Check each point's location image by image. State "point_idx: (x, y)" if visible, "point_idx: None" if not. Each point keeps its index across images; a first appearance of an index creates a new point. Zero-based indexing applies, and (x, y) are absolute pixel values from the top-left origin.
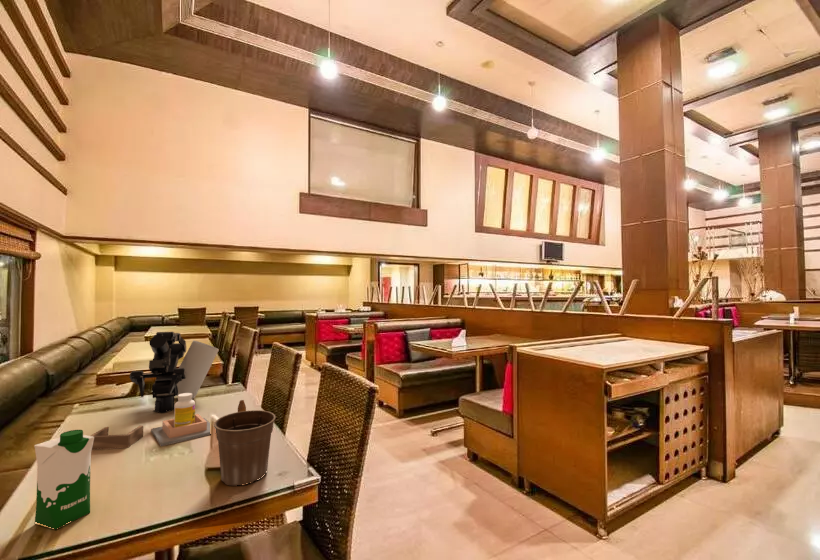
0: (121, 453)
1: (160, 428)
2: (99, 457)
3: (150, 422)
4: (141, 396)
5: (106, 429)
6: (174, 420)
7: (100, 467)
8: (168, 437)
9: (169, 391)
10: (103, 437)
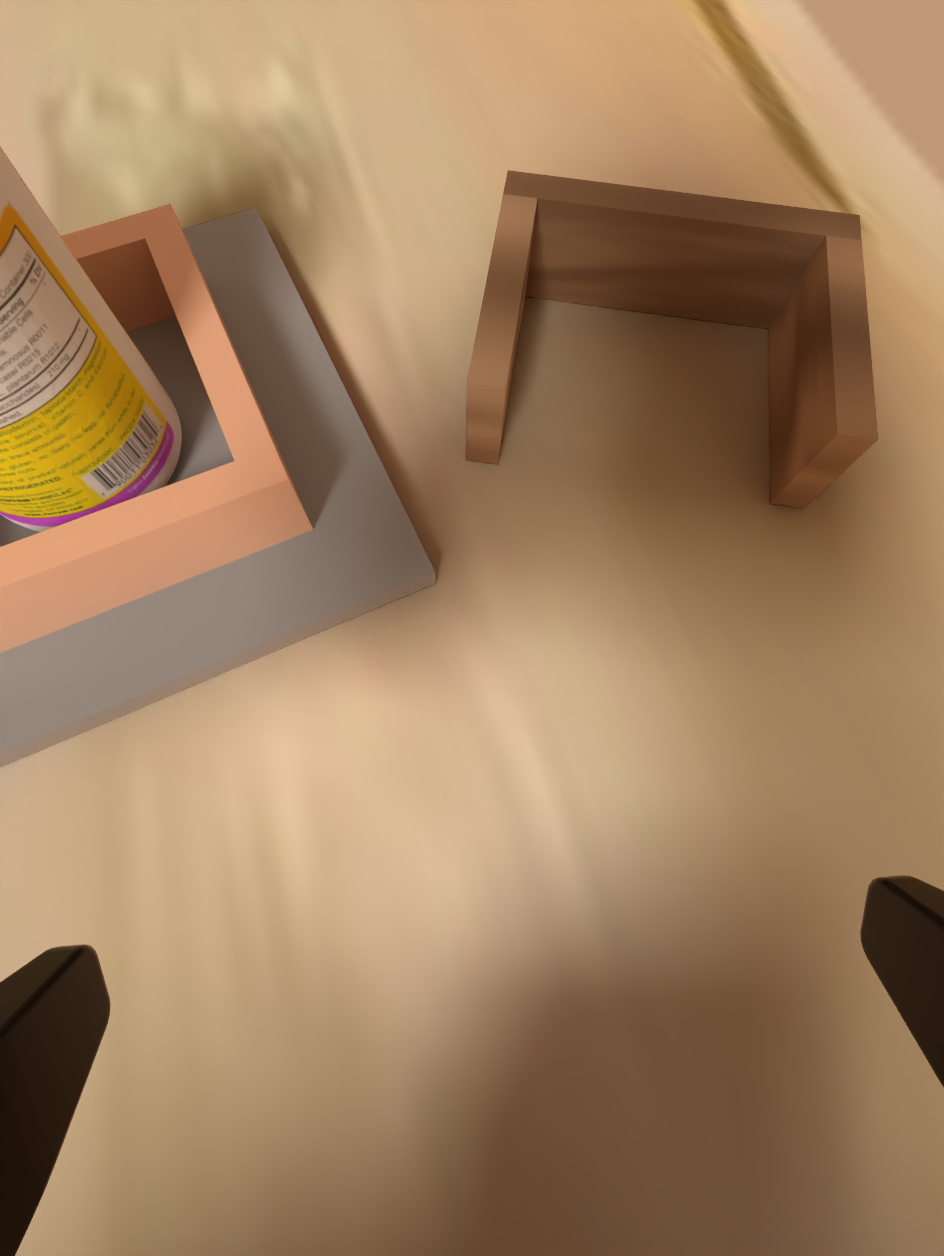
0: None
1: (336, 552)
2: (622, 176)
3: (549, 947)
4: (887, 889)
5: (827, 409)
6: (121, 326)
7: (541, 61)
8: (217, 301)
9: (11, 998)
10: (715, 203)
